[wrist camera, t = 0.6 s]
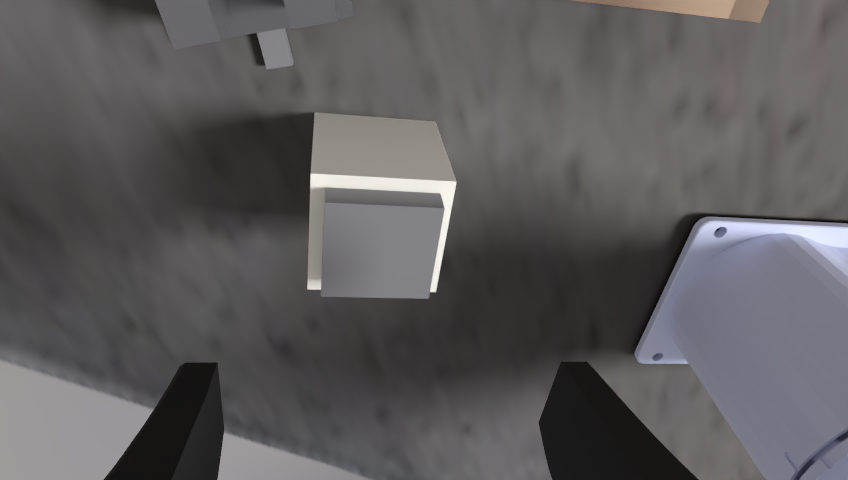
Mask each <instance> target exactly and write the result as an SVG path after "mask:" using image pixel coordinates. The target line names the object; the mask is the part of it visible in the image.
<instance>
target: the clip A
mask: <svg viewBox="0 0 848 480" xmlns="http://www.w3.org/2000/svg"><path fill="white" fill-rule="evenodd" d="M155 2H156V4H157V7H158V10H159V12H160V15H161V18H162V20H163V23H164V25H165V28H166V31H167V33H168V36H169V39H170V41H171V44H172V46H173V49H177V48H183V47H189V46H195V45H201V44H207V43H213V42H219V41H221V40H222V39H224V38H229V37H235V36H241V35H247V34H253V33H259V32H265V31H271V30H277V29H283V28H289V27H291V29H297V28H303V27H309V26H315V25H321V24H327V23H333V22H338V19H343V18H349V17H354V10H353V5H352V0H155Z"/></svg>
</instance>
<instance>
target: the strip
mask: <svg viewBox="0 0 848 480" xmlns="http://www.w3.org/2000/svg"><path fill="white" fill-rule="evenodd" d="M257 36H258V40H259V43H260V47H261V51H262V54H263V58H264V61H265V65H266V69H273V68H279V67H286V66H293V63H294V62H293V58H292V54H291V50H290V45H289V41H288V37H287V33H286V29H285V28H283V29H277V30H271V31H265V32H259V33H257Z"/></svg>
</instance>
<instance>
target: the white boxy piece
mask: <svg viewBox="0 0 848 480" xmlns="http://www.w3.org/2000/svg"><path fill="white" fill-rule="evenodd" d="M455 187H456V179H455V176H454V173H453V170H452V167H451V165H450V162H449V159H448V156H447V153H446V150H445V148H444V145H443V142H442V139H441V136H440V133H439V130H438V128H437V125H436V122H435V121H422V120H409V119H396V118H382V117H369V116H356V115H343V114H329V113H316V112H315V114H314V129H313V145H312V160H311V178H310V214H309V250H308V286H307V289H312V290H321V297H365V298H416V299H429V294H430V292H436V289H437V284H438V278H439V273H440V267H441V262H442V257H443V251H444V246H445V241H446V235H447V230H448V225H449V219H450V214H451V208H452V203H453V198H454V192H455Z"/></svg>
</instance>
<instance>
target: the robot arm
mask: <svg viewBox="0 0 848 480" xmlns="http://www.w3.org/2000/svg"><path fill="white" fill-rule="evenodd" d="M720 227H721V228H720ZM718 228H720V229H719V230H718V231H716V230H717V229H718ZM715 231H716V232H715ZM634 355H635V357H636V359H637V361H638V362H639V363H643V364H689V365H690V367H691V368H692V370H693V371H694V373H695V374H696V376H697V377H698V379H699V380H700V382H701V383H702V385H703V386H704V388H705V389H706V391H707V392H708V394H709V395H710V397H711V398H712V400H713V401H714V403H715V404H716V406H717V407H718V409H719V410H720V412H721V413H722V415H723V416H724V418H725V419H726V421H727V422H728V424H729V425H730V427H731V428H732V430H733V431H734V433H735V434H736V436H737V437H738V439H739V440H740V442H741V443H742V445H743V447H744V448H745V450H746V451H747V453H748V454H749V456H750V457H751V459H752V460H753V462H754V463H755V465H756V466H757V468H758V469H759V471H760V472H761V474H762V475H763V477H764V478H765V480H848V223H829V222H809V221H789V220H769V219H749V218H729V217H704V218H702V219H700V220H699V221H697V222H696V224H695V225H694V226H693V229H692V231H691V233H690V235H689V237H688V239H687V241H686V243H685V246H684V248H683V250H682V252H681V254H680V256H679V258H678V261H677V263H676V265H675V267H674V269H673V271H672V273H671V275H670V278H669V280H668V282H667V284H666V286H665V288H664V290H663V293H662V295H661V297H660V299H659V301H658V303H657V305H656V307H655V310H654V312H653V314H652V316H651V318H650V320H649V322H648V325H647V327H646V329H645V331H644V333H643V335H642V337H641V340H640V342H639V344H638V346H637V348H636V350H635V353H634ZM539 426H540V431H541V436H542V441H543V446H544V450H545V455H546V459H547V463H548V467H549V471H550V474H551V477H552V479H553V480H698V479H697V478H696V477H695V476H694V475H693V474H692V473H691V472H690V471H689V470H688V469H687V468H686V467H685V466H684V465H683V464H682V463H681V462H680V461H679V460H678V459H677V458H676V457H675V456H674V455H673V454H672V453H671V452H670V451H669V450H668V449H667V448H666V447H665V446H664V445H663V444H662V443H661V442H660V441H659V440H658V439H657V438H656V437H655V436H654V435H653V434H652V433H651V432H650V431H649V430H648V429H647V427H646V426H645V425H644V424H643V423H642V422H641V421H640V420H639V419H638V418H637V417H636V416H635V414H634V413H633V412H632V411H631V410H630V409H629V408H628V407H627V406H626V405H625V403H624V402H623V401H622V400H621V399H620V398H619V397H618V396H617V395H616V393H615V392H614V391H613V390H612V389H611V388H610V387H609V386H608V384H607V383H606V382H605V381H604V380H603V379H602V378H601V377H600V376H599V374H598V373H597V372H596V371H595V370H594V369H593V368H592V367H591V366H590V365H589V363H588V362H561V363H560V366H559V369H558V371H557V374H556V377H555V380H554V382H553V385H552V388H551V390H550V393H549V396H548V399H547V401H546V404H545V407H544V410H543V412H542V415H541V418H540V420H539ZM223 434H224V423H223V413H222V403H221V393H220V383H219V373H218V363H184V364H183V365H181V366H180V367H179V369H178V371H177V373H176V374H175V376H174V378H173V380H172V381H171V383H170V385H169V386H168V388H167V390H166V391H165V393H164V395H163V396H162V398H161V400H160V401H159V403H158V404H157V406H156V407H155V409H154V410H153V412H152V413H151V415H150V416H149V418H148V420H147V421H146V423H145V424H144V426H143V427H142V428H141V430H140V431H139V433H138V434H137V435H136V437H135V438H134V440H133V441H132V442H131V444H130V446H129V447H128V448H127V450H126V451H125V452H124V454H123V455H122V457H121V458H120V459H119V461H118V462H117V464H116V465H115V466H114V467H113V469H112V470H111V471H110V473H109V474H108V475H107V476H106V478H105V479H104V480H217V478H218V471H219V464H220V456H221V449H222V441H223Z"/></svg>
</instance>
